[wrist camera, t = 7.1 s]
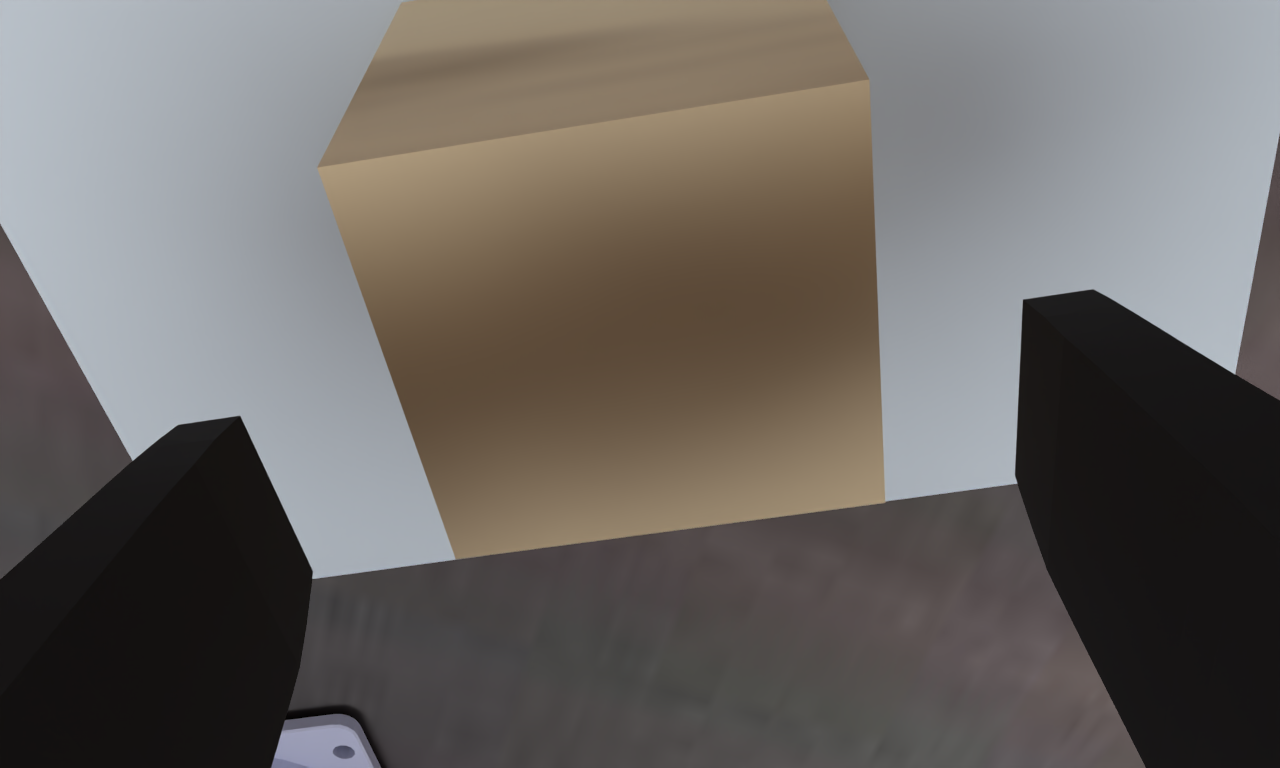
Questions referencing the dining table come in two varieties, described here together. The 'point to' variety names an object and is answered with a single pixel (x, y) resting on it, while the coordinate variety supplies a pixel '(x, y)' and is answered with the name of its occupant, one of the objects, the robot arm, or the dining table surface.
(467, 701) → the dining table surface
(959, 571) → the dining table surface
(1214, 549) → the robot arm
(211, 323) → the grey-blue platform
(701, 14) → the birch cube
